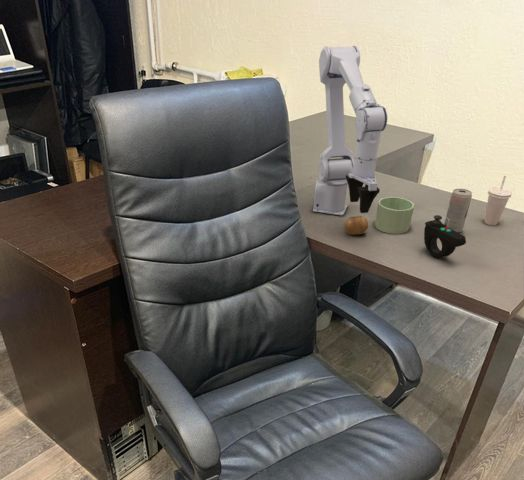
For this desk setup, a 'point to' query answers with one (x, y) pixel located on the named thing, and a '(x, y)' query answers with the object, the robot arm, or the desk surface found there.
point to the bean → (356, 225)
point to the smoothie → (496, 203)
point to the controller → (441, 238)
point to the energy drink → (458, 209)
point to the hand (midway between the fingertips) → (358, 206)
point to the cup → (394, 215)
